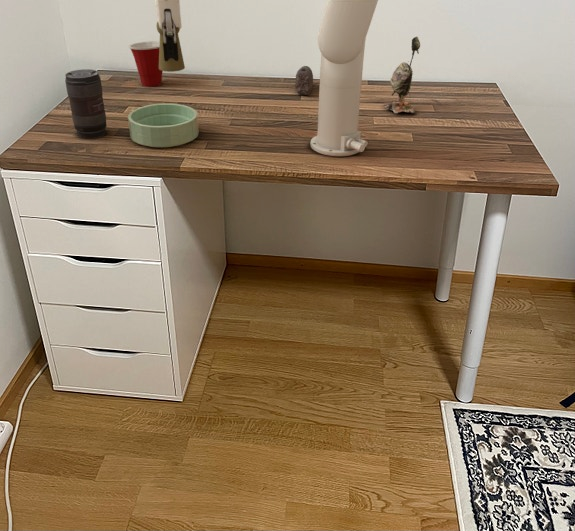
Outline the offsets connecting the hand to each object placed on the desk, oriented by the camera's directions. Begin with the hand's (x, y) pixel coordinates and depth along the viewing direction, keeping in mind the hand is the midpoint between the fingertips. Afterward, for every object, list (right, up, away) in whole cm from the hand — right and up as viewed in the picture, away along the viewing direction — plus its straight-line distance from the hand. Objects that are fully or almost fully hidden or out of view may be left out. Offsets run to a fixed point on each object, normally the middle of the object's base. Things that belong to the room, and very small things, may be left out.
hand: (170, 57), depth 144 cm
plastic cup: (-14, +7, +45) cm, 48 cm away
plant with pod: (+58, -5, +29) cm, 65 cm away
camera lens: (-22, -16, +11) cm, 29 cm away
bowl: (-3, -16, +10) cm, 19 cm away
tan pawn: (0, -2, +2) cm, 3 cm away
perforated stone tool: (+32, +4, +42) cm, 53 cm away
